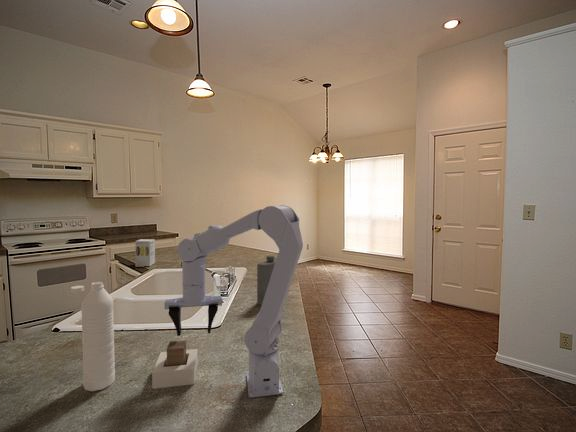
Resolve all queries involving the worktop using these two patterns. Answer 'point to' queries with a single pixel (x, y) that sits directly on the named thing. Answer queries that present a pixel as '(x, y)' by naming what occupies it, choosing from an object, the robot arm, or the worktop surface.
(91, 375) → the water bottle
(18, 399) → the worktop surface
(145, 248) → the supplement box
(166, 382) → the ceramic well
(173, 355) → the walnut peg
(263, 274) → the flask
